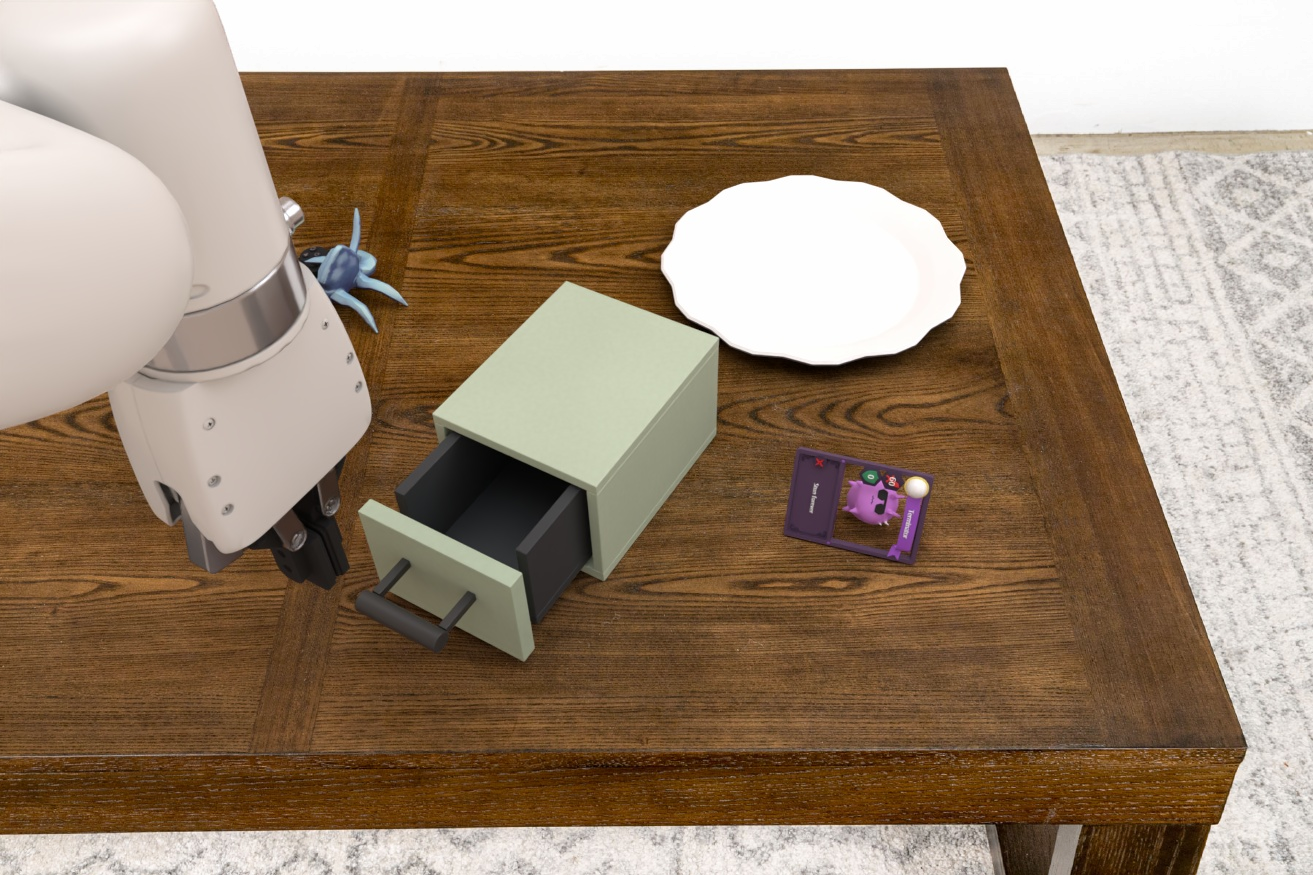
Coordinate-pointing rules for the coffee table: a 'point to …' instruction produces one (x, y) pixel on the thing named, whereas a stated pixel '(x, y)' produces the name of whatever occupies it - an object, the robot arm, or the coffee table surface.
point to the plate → (813, 270)
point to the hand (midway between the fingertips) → (317, 568)
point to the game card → (854, 501)
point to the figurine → (347, 273)
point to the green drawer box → (596, 407)
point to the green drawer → (475, 547)
